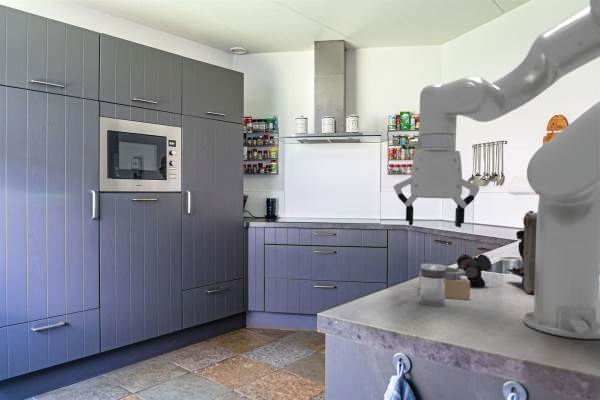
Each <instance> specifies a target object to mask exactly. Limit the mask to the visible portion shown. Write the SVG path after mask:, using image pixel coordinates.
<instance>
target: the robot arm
mask: <svg viewBox="0 0 600 400" xmlns="http://www.w3.org/2000/svg"><path fill="white" fill-rule="evenodd" d="M599 57H600V0H589V4H588V5H587V6H585V7H584V8H583V9H581V10H579V11H578V12H576V13H574V14H573V15H571V16H569V17H568V18H566V19H563V20H562V21H561V22H559V23H557V24H556V25H554V26H552V27H551V28H549V29H547V30H546V31H543V33H541V34H539V35H538V36H537V37H536V38H535V40H534V41H533V42H532V45H531V46H530V49H529V51H528V53H527V54H526V56H525V58H524V59H523V60H522V61H521V63H519V64H518V65H517V66H516V67H514V69H512V70H511V71H509V73H506V74H505V75H504V76H501V77H500V78H499V79H497V80H495V81H493V82H492V83H490V82H488V81H487V80H485V79H484V78H482V77H479V76H466V77H463V78H459V79H457V80H454V81H451V82H448V83H437V84H435V83H434V84H430V85H427V86H425V87H424V88H422V89H421V92H420V94H419V117H418V118H419V120H418V137H417V138H415V139H411V147H413V146H414V147H416V148H417V150H415V151H414V154H413V158H412V165H411V175H410V177H409V178H406V179H404V180H403V181H401V182H398V183H396V184H394V185H393V189H394V191H395V194H396V196H397V198H398V199H399V200H400V201H401V202H402V203H403V205H405V222H408V226H413V224H414V206H413V203H414V202H415V201H416V200H417V199H418V198H420V199H421V198H424V199H451V200H452V201H454V203H455V204H456V205H457V206H456V208H455V219H454V225H455V227H457V228H462V224H464V223H465V211H466V209H465V208H467V206H469V205H470V204H471V203H472V202H473V201H474V199H475V198H476V197H477V195H478V194H479V192H480V187H479V186H477V185H476V184H473V183H472V182H470V181H468V180H465V179H463V171H462V170H463V169H462V158H461V152H460V150H456V146H457V122H458V121H457V120H458V117H457V116H462V117H465V118H470V119H471V120H474V121H476V122H479V123H487V122H491V121H495V120H497V119H498V118H501V117H504V116H505V115H508V114H509V113H512V112H513V111H515V110H517V109H519V108H521V107H522V106H524V105H526V104H527V103H529V102H531V101H533V100H534V99H535V98H537V97H538V96H539V95H541V94H542V93H543V92H544V91H546V90H547V89H548V88H551V87H552V86H553V85H554V84H555V83H556V82H558V80H560V79H561V78H563V77H564V76H567V75H569V74H570V73H572V72H574V71H576V70H577V69H579V68H581V67H583V66H585V65H586V64H588V63H590V62H592V61H595V60H596V59H597V58H599ZM526 179H527V183H528V185H529V186H530V188H531V189H532V191H534V192H535V194H537V195H538V204H537V205H538V206H537V211H536V213H537V227H536V256H535V292H534V294H533V295H534V297H533V298H534V299H533V300H534V301H533V311H530V312H527V313H525V314H524V315H523V322H524V324H526V325H527V326H528V327H530V328H532V329H535V330H536V331H539V332H543V333H547V334H551V335H553V336H554V335H555V336H560V337H565V338H572V339H583V340H600V321H599V305H600V304H599V303H600V302H599V301H600V100H599V101H598V102H596V103H595V104H593V105H592V106H591V107H590V108H589V109H587V110H586V111H584V112H583V113H582V114H581V115H580V116H578V117H577V118H576V119H574V120H573V121H572V122H571V123H569V124H567V126H565V127H564V128H563V129H561V131H560V132H558V133H557V134H556V135H554V136H553V137H552V138H551V139H549V140H547V142H545V143H544V144H542V146H540V147H539V148H538V150H537V151H535V152H534V154H533V155H532V157H531V158H530V160H529V161H528V164H527V168H526ZM409 185H410V194H411V195H410V196H409V197H408V198H407V196H405V194H404V192H403V191H402V189H403V188H405V187H407V186H409ZM463 188H465V189H467V190H468V191H469V193H468V194H467V196H465V198H464V199H463V198H462V195H463Z"/></svg>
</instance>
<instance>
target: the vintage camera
mask: <svg viewBox="0 0 600 400" xmlns="http://www.w3.org/2000/svg"><path fill="white" fill-rule="evenodd" d="M524 214H525V215H524V216H523V218H522V219H523V220H522V221H523V223H522V224H523V229H522V230H518V231H516V232H515V233H516V234H515V235H516V238H517V240H520V241H519V242H518V246H517V247H518V253H519V255H520V258H521V261H522V263H523V264H522V266H521V267H520V268H519V267H518V268H517V267H513V266H512V268H506V271H508V272H510V273H511V274H513V275H516V276H518V277H520V278H522V280H521V284H523V287H524V288H523V289H524V292H525V294H529V295H530V294H531V295H532V294H533V295H534V292H535V256H536V227H537V212H534V211H533V210H529V211H528V212H525V213H524Z"/></svg>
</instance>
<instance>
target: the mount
mask: <svg viewBox="0 0 600 400" xmlns="http://www.w3.org/2000/svg"><path fill="white" fill-rule="evenodd" d="M418 279H419V280H418V282H419V283H418V284H419V285H418V288H419V289H420V287H421V275H420V274H419V278H418ZM470 296H471V282H470V281H469V280H468V279H467V277H466V272H465V271H464V270H462V269H457V267H453V266H452V267H450V266H446V278H445V299H455V300H471V299H470V298H471V297H470Z"/></svg>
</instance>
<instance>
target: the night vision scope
mask: <svg viewBox="0 0 600 400" xmlns="http://www.w3.org/2000/svg"><path fill="white" fill-rule="evenodd" d="M456 265H457V267H456V268H457V269H462V270H464V271H465V272H466V277H467V279H468V280H469V281H470V283H475V285H476V287H478V288H483V287H485V285H486V282H485V280H484V279H483V277H482V274H483V273H482V271H484V272H489V271H490V270H491V269H492V262H491V260H490V258H489V257H488V256H487V255H484V254H479V255H478V256H477V257H476V256H474V257H472V256H471V255H469V254H462V255H460V256H459V257H458V258H457V260H456Z"/></svg>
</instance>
